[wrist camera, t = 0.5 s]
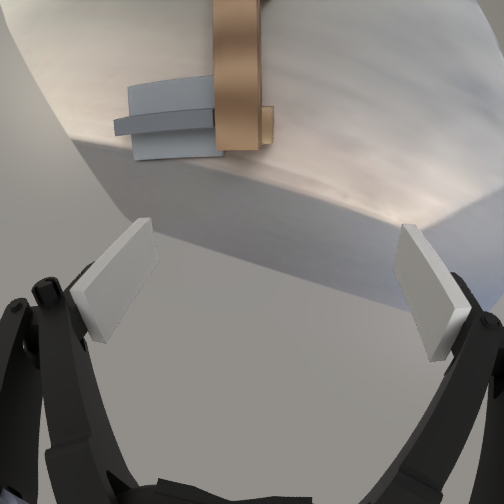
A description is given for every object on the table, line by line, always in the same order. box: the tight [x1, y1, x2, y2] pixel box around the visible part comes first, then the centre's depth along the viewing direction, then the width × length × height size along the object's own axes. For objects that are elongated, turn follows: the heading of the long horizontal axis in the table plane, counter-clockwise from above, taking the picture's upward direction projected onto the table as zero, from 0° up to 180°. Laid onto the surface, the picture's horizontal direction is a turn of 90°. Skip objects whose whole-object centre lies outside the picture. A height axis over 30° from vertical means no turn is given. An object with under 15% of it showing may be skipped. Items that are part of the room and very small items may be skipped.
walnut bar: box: [213, 0, 262, 151], centre depth 24 cm, size 22×4×4 cm, turn 1°
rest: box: [215, 106, 274, 144], centre depth 32 cm, size 4×6×4 cm, turn 91°
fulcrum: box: [114, 75, 224, 160], centre depth 32 cm, size 10×12×5 cm
